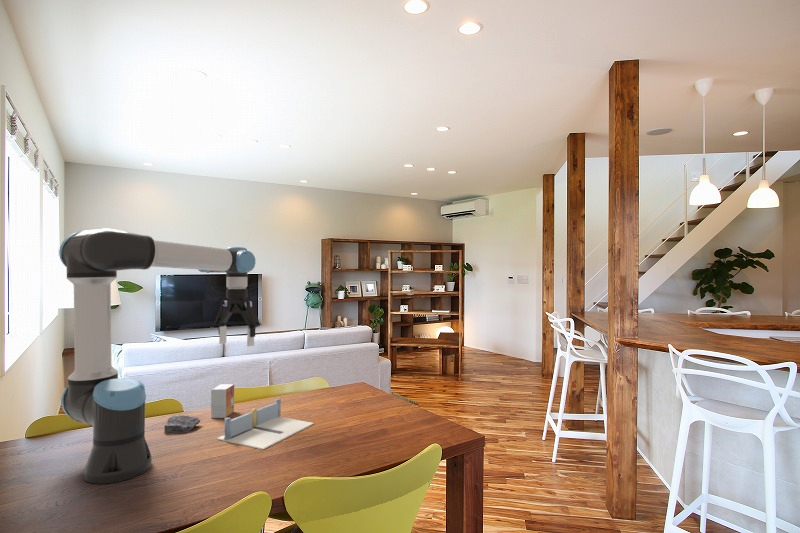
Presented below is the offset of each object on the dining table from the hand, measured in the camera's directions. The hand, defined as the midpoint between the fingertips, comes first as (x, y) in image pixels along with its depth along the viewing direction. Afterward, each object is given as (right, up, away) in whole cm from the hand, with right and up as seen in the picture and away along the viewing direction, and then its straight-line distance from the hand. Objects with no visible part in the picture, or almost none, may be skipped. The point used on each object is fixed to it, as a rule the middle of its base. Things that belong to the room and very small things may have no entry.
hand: (236, 344), depth 166 cm
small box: (-4, -26, -2) cm, 27 cm away
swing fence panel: (+15, -25, -11) cm, 31 cm away
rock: (-13, -26, -17) cm, 33 cm away
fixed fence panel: (+9, -26, -22) cm, 35 cm away
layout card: (+17, -26, -19) cm, 36 cm away
